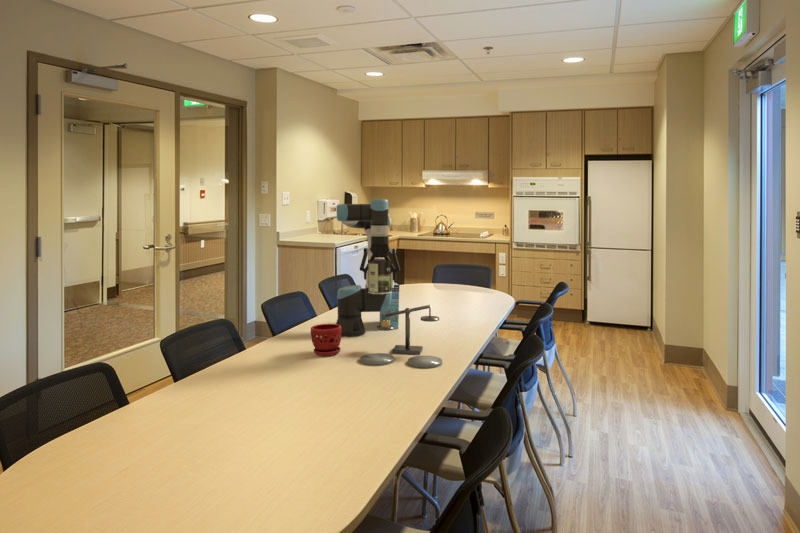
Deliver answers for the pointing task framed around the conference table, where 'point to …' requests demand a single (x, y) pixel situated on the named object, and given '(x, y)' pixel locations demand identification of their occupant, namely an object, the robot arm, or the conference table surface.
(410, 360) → the dish right
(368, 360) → the dish left
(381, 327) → the balance
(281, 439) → the conference table surface
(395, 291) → the gum box
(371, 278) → the coffee can
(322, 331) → the plant pot
